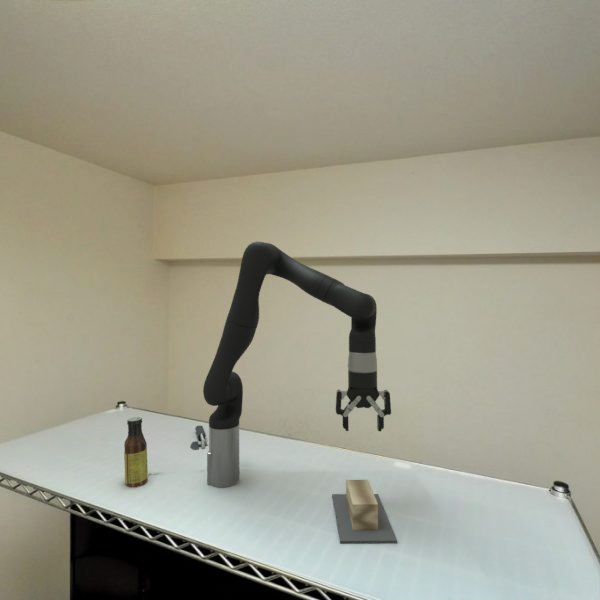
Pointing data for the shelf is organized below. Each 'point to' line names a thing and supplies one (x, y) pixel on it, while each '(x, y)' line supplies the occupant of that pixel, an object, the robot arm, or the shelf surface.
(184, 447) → the shelf surface
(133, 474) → the sauce bottle
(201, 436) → the can opener
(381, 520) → the picture tile
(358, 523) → the maple block
